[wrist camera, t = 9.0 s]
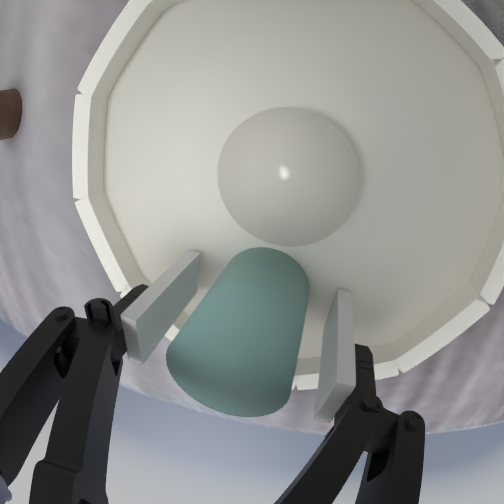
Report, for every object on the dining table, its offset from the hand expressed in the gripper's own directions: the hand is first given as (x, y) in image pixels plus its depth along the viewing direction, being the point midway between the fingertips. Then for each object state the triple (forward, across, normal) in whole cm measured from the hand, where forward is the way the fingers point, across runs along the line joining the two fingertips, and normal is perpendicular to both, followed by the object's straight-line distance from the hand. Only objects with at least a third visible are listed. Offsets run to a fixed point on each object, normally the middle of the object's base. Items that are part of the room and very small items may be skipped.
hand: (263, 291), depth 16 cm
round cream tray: (+1, 0, +7) cm, 7 cm away
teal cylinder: (0, 0, 0) cm, 0 cm away
